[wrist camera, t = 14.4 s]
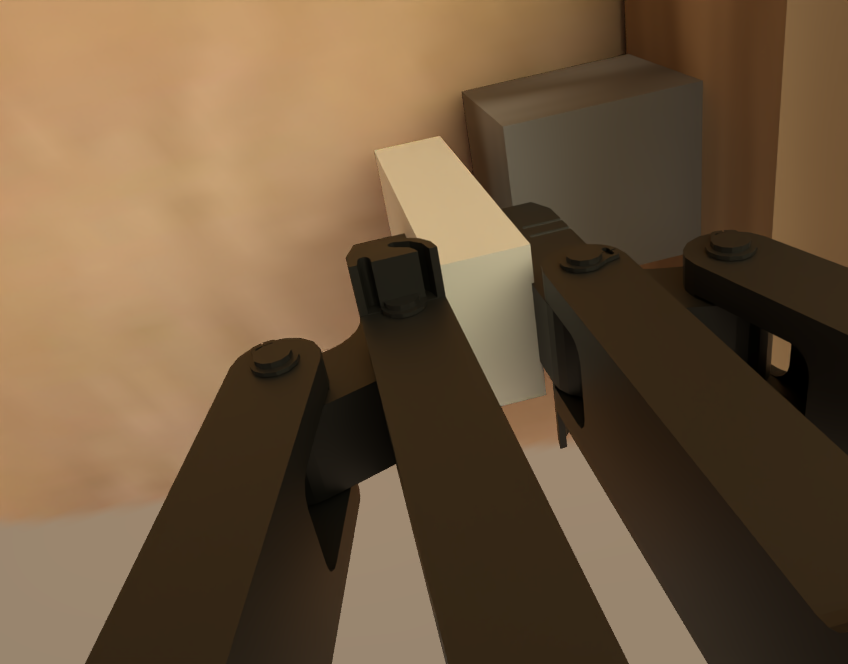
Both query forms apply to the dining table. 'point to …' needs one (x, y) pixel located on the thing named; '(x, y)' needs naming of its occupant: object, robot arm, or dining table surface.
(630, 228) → the block
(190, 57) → the dining table surface
